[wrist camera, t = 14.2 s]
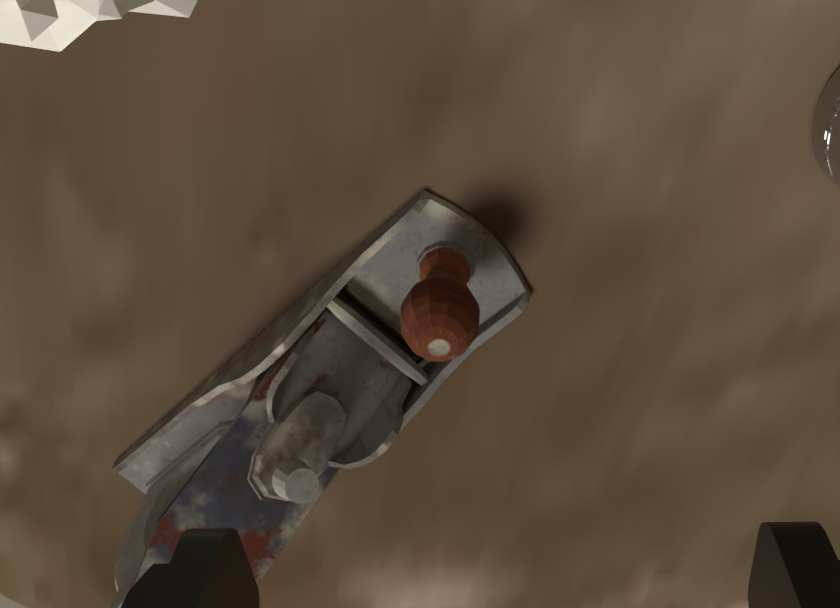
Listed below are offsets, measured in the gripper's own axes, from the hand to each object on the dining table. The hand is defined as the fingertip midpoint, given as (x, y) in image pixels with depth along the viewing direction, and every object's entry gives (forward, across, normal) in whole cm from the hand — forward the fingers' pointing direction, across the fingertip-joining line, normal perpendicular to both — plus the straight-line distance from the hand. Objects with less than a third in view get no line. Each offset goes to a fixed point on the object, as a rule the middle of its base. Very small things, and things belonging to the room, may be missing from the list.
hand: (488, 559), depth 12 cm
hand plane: (+31, +14, +21) cm, 39 cm away
